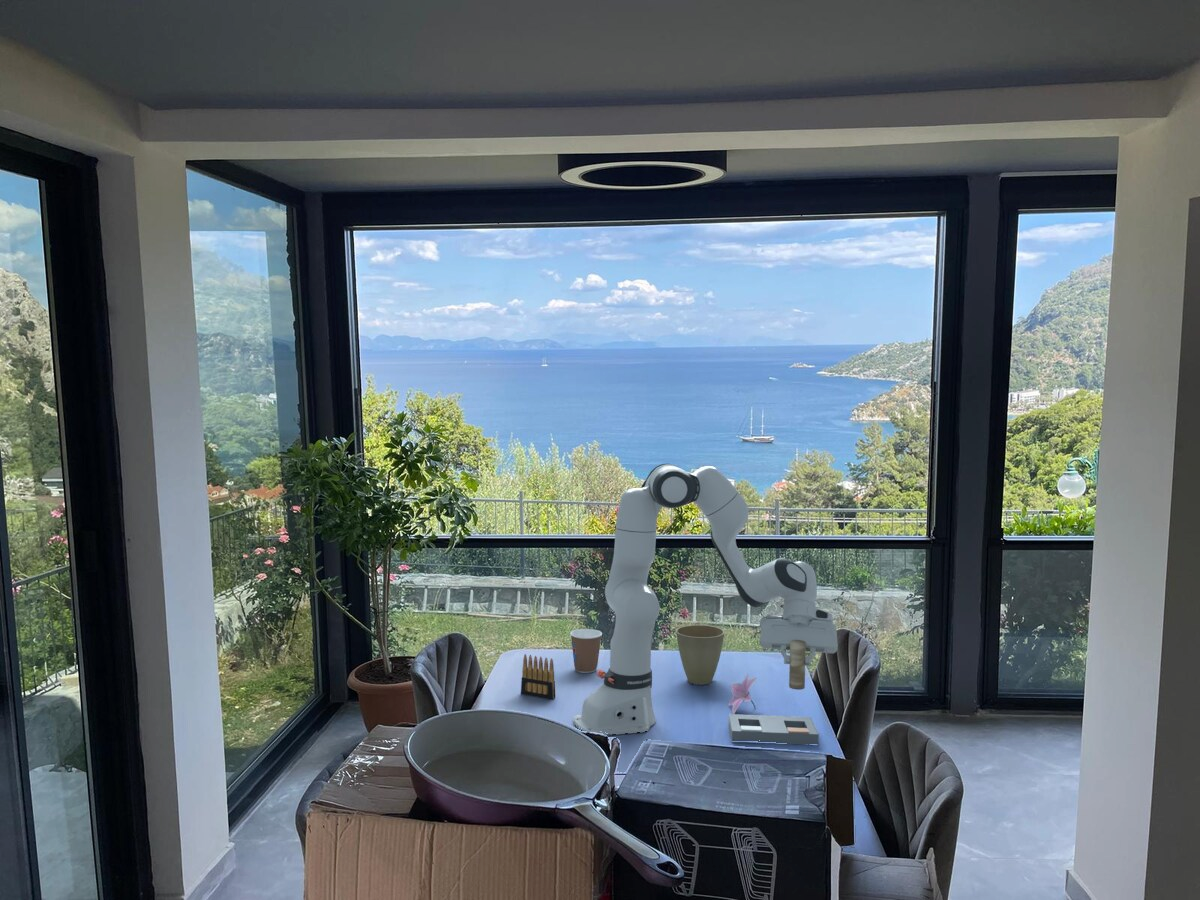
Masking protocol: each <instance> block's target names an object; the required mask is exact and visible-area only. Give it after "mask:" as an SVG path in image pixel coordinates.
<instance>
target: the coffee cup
mask: <svg viewBox="0 0 1200 900" xmlns="http://www.w3.org/2000/svg"><path fill="white" fill-rule="evenodd" d="M569 635H570V636H571V637H570V638H571V639H570V640H571V647H572V656H573V657H572V658H573V665H574V669H575V671H576V672H577V673H580V674H581V673H582V674H590V673H594V672H596V671H597V668H598V663H599V655H600V648H601V639H602V635H603V633H602V631H600V630H598V629H592V628H582V629H581V628H580V629H574V630H571V631H570V634H569Z"/></svg>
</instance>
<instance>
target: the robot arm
mask: <svg viewBox="0 0 1200 900" xmlns="http://www.w3.org/2000/svg"><path fill="white" fill-rule="evenodd" d="M692 503H694V504H695V505H696V506H697V507H698V508H699V510H700V511H701V512H702V513H703V514H704V516H705V517H706V519H707V520H708V522H709V525H710V527H711V531H710V539H711V542H712V544H713V546H714V548H715V550H716V552H717V553H718V556H719V557H720V559H721V561H722V563H723V564H724V566H725V568H726V569H727V571H728V574H729V575H730V577H731V579H732V581H733V583H734V584H735V587H736V590H737V593H738V595H739V597H740V598H741V600H742V601H743V602H744V603H745V604H747V605H749V606H751V607H754V608H760V607H762V606H764V605H766V604H768V603H769V602H771V601H774V600H776V599H778V598H781V599H782V600H783V601H784V602H783V605H782V615H769V614H767V615H765V616H763V617H762V618H760V620H759V628H760V632H759V633H760V635H759V645H760V646H761V647H762V648H763V649H771V650H773V649H774V650H780V653H781V655H782V658H783V664H785V665H790V654H789V655H788V654H787V653H786V652H787V651H790V641H791V640H802V641H805V642H806V652H808V653H809V655H808V656H806V657H805V667H806V666H807V667H808V666H809V667H811V666H812V660H813V659H814V658H815V656H816V653H821V654H822V653H823V654H835V653H836V652H837V651H838V647H839V645H838V633H837V628H836V625H835V624H834V618H833V614H832V613H831V612H828V611H825V610H823V609H821V608H817V604H816V600H817V596H818V595H817V593H818V585H817V575H816V572H815V570H814V568H813V567H812V566H811V565H810V564H809V563H807V562H806V561H805V562H804V561H799V560H798V561H792V560H790V559H789V558H786V557H779V558H775V559H774V560H772V561H769V562H767V563H765V564H764V565H761V566H759V567H757V568H751V567H750V566H749V565H748V564H747V562H746V560H745V557H744V556H743V555H742V553H741V551H740V549H739V548H738V546H737V541H736V540H737V536H738V535H739V534H740V532H741V531H742V530H743V528H744V527H745V525H746V523H747V521H748V518H749V506H748V504H747V502H746V500H745V498H744V497H743V496H742V495H741V493H740V492H739V491H738V489H737V488H736V487H735V486H734V485H733V484H732V482H731V481H730V480H729V479H728V478H727V477H726V476H725V475H724V474H723V473H722V472H721V471H719V469H717V468H716V467H714V466H713V465H712V466H709V465H706V466H702V467H700V468H698V469H697V470H695V471H693V472H691V473H690V472H687V471H686V470H684V469H683V468H681V467H680V466H678V465H675V464H671V463H662V464H659V465H657V466H655V467H654V468H653V469H651V471H650V472H649V474H648V476H647V477H646V478H645V480H644V482H643V483H642V484H641V487H632V488H629V489H626V490H625V491H624V492H623V493H622V494H621V496H620V501H619V504H618V507H617V508H618V509H617V513H616V522H615V534H614V549H613V558H612V563H611V567H610V571H609V576H608V581H607V582H606V585H605V588H604V595H605V599H606V603H607V606H609V608H610V609H611V610H612V611H613V612H614V614H615V625H614V629H613V635H612V638H611V639H610V646H609V647H610V651H609V653H610V655H609V656H610V657H609V659H610V660H609V667H608V671H604V669H599V670H598V671H597V672H596V674H597V675H596V676H597V677H599V678H600V679H602V680H603V683H602V684H601V685H600V686H598V687H597V688H595V690H594V691H593V692H592V693H590V694H589V695H588V696H586V698H585V699H584V701H583V704H582V708H581V713H580V714H576V715H574V716H573V724H574V726H575V725H576V726H575V727H576V728H577V729H579V731H581V730H583V731H587V732H597V733H603V734H606V733H608V734H611V735H610V736H613V735H612V734H616V735H625V733H628V734H638V733H637V732H640V733H646V732H645V731H647V732H648V731H650V728H651V727H652V726H653V725H654V724H655V723H656V721H657V719H656V717H655V712H654V708H653V701H652V700H653V699H652V691H651V690H652V686H653V670H652V668H651V667H652V666H651V663H652V661H651V659H652V658H651V657H652V638H653V633H654V629H655V626H656V625H655V623H656V620H657V619H658V618H659V614H660V612H661V611H660V610H661V609H660V608H661V607H660V602H659V599H658V597H657V594H656V593H655V591H654V590H653V589H651V588H650V586H648V577H649V573H650V571H651V566H652V564H653V563H654V561H655V557H656V543H657V541H656V540H657V530H658V529H657V526H658V525H657V523H658V515H659V513H660V512H661V510H662V508H667V509H677V508H680V507H684V506H686V505H689V504H692ZM577 726H578V727H580V728H578V727H577ZM581 728H582V729H581ZM600 731H602V732H600ZM605 732H606V733H605Z"/></svg>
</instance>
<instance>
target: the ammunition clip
mask: <svg viewBox="0 0 1200 900" xmlns="http://www.w3.org/2000/svg"><path fill="white" fill-rule="evenodd" d="M522 661H523V663H522V671H521V673H522V674H521V683H520V695H524V696H528V697H529V696H530V697H533V698H534V697H535V698H541V699H545V700H551V701H553V700H554V699H556V681H555V668H554V665H555V664H554V660H553V658H550V660H549V661H548V658H547V657H545V658H544V662H543V657H542V656H539V659H538V657H537V655H535V656H534V659H533V658H532V655H531V654H530V655H529V657H528V656H527V653H525V654H524V656H523V659H522Z"/></svg>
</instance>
